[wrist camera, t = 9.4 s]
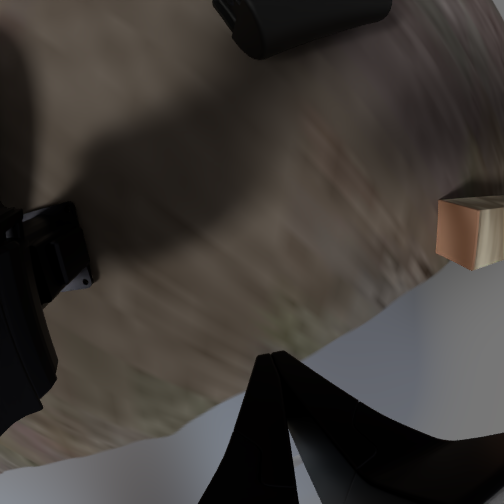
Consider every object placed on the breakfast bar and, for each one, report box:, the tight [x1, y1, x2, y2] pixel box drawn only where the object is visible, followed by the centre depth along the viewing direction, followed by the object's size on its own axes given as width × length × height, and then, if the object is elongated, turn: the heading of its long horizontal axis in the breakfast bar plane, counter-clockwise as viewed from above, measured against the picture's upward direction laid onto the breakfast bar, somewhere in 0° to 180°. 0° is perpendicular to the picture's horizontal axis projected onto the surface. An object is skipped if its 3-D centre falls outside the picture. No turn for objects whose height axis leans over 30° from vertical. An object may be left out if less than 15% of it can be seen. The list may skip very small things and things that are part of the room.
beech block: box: [436, 195, 504, 271], centre depth 22 cm, size 5×5×12 cm
